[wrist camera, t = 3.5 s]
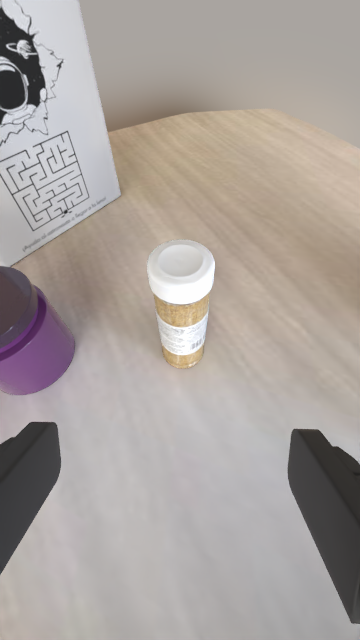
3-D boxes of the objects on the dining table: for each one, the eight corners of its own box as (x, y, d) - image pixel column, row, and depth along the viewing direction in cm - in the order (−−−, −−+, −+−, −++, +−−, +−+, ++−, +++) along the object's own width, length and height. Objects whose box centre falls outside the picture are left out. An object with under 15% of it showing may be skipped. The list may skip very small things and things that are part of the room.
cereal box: (92, 180, 47) (17, -70, 26) (122, 195, 44) (65, -70, 23) (-23, 246, 38) (-279, -53, 17) (5, 270, 35) (-257, -49, 14)
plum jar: (45, 306, 32) (0, 248, 24) (91, 350, 29) (57, 299, 21) (-27, 357, 28) (-106, 308, 21) (16, 414, 25) (-58, 381, 17)
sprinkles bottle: (187, 325, 30) (189, 227, 19) (212, 355, 28) (230, 265, 17) (153, 345, 29) (133, 253, 18) (177, 378, 27) (170, 298, 15)
